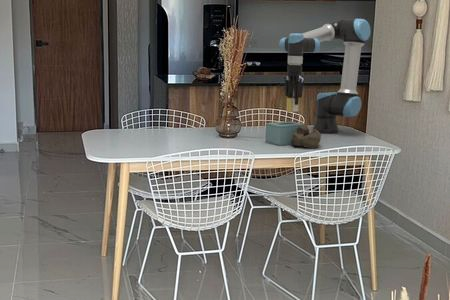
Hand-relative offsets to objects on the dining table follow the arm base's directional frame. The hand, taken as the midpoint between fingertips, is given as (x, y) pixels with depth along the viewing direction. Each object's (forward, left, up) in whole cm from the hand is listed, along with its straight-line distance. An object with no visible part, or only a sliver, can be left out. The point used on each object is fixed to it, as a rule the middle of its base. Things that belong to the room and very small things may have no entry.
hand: (292, 110), depth 305 cm
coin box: (+3, -3, -17) cm, 17 cm away
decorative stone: (0, +12, -17) cm, 21 cm away
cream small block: (0, 0, -1) cm, 1 cm away
